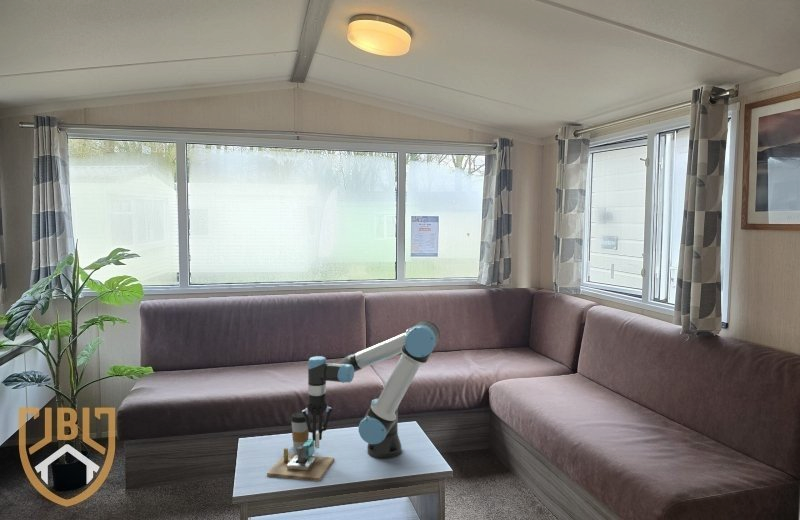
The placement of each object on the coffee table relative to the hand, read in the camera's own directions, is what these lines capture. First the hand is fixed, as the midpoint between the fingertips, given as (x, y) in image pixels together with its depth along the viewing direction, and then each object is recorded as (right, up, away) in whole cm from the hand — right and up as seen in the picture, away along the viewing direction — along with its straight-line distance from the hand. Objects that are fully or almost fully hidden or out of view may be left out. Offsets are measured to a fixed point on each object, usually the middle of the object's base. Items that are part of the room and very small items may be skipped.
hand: (317, 447), depth 217 cm
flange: (-4, -4, -6) cm, 8 cm away
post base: (-5, -5, -9) cm, 12 cm away
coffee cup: (-9, -4, +11) cm, 15 cm away
